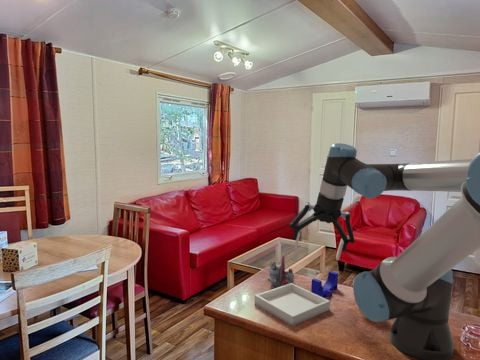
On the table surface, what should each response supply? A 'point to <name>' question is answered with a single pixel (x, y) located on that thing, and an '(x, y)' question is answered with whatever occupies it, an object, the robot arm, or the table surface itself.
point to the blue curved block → (325, 285)
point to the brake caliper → (280, 274)
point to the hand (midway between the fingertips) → (316, 252)
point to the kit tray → (292, 303)
